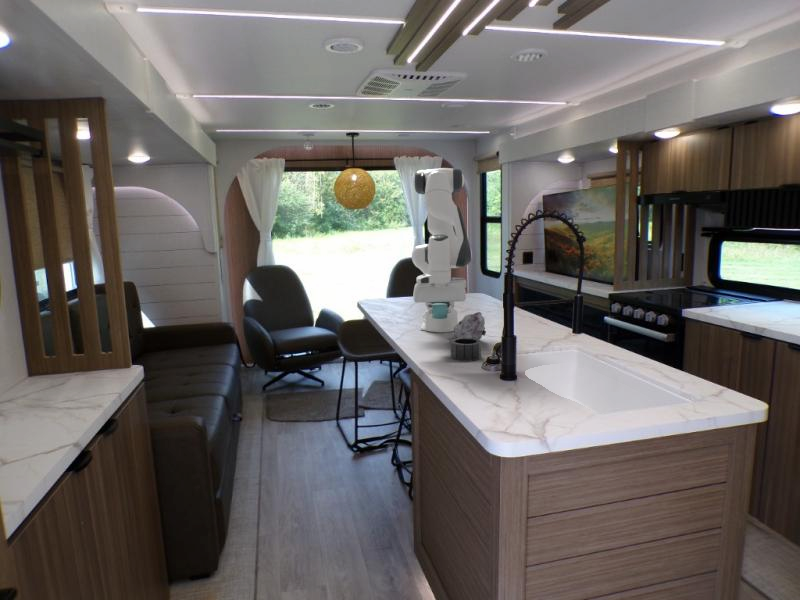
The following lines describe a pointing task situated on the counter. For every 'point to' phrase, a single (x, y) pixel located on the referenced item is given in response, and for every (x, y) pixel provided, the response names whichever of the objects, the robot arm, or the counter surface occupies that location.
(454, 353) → the grey short cylinder
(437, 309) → the teal cube
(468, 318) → the rock
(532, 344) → the counter surface
